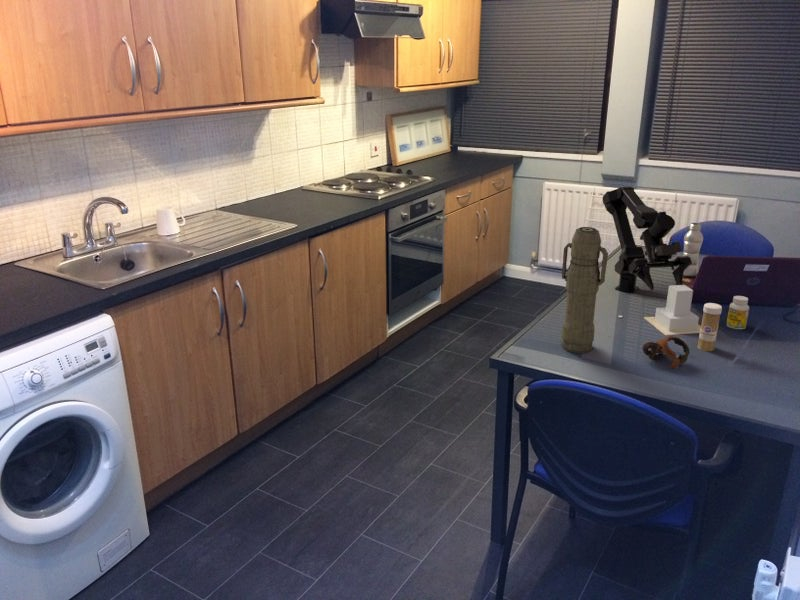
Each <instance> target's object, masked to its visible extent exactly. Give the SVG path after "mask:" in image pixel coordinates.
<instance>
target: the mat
mask: <svg viewBox="0 0 800 600" xmlns="http://www.w3.org/2000/svg"><path fill="white" fill-rule="evenodd" d="M643 319H644V320H646V321H647V322H648V323H650V324H651V325H652V326H653V327H654V328H656V329H657V330H658V331H659V332H661V333H662V334H663V335H664V336H674V335H686V334H688V335H690V334H700V329H701V324H699V323H698V327H697V329H696V330H679V331H668V330H667V329H666V328H664V327H663V326H662V325H661V324H659V323H658V322H657V321H656V320H655V316H644V317H643Z"/></svg>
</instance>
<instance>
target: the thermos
mask: <svg viewBox="0 0 800 600" xmlns="http://www.w3.org/2000/svg"><path fill="white" fill-rule="evenodd" d="M568 249H570V257H571V258H570V261H569V266H568V269H567V260H568ZM601 254H602V261H601V271H600V267H599V266H600V264H599V263H600V262H599V259H600V256H601ZM608 256H609V252H608V250H607V249H606V248H605V247H602V239H601V235H600V231H599V229H597V228H595V227H591V226H582V227H578V228H577V229H575V231H574V233H573V235H572V239H571V242H568V243H567V244H566V245H565V246H564V247H563V255H562V268H561V269H562V270H561V279H562V280H564V281H565V289H566V302H565V303H566V304H565V313H564V314H565V315H564V323H563V326H562V327H561V347H562V348H563V349H564V350H565V351H567V352H571V353H576V354H577V353H579V354H586V353H588V352H591V351H592V349H593V343H594V340H595V330H596V329H595V323H594V319H595V309H596V300H597V294H598V292H599V287H600V286H602V285H603V284H604V283H605V282H606V281H605V280H606V272H607V264H608V259H609V257H608Z"/></svg>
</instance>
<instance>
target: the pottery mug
mask: <svg viewBox="0 0 800 600" xmlns="http://www.w3.org/2000/svg"><path fill="white" fill-rule="evenodd" d="M670 341H673V342H674V344H675V345H678V346H681V347H682V350H683V353H685V354H679V355H678V356H677V353H676V352H675V351H673V350H672V349H671V347H670V346H669V344H668V342H670ZM642 351H643V354H644V355H645V356H647V357H648V359H649V360H651V361H653V360H654V358H655V357H656V355H657V354H659V355H666V356H667V357H668V358H669V359H671V360H672V362H671V363H670V365H669V368H670V369H673V370H675V369H677V368H678V367H681V366H682V365H684V364H685V363H686V362H687V361H688V356H689V355H690V352H691V351H690V348H689V346H688V344H687V343H686V341H684V340H683V339H681V338H680V337H677V336H674V335H668V336H666V337H665V338H664V337H663V338H660V339H658V340H656V341H655V342H654V341H648V342H645V343H644V344H643V345H642ZM676 356H677V357H676Z"/></svg>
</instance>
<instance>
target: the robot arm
mask: <svg viewBox="0 0 800 600" xmlns="http://www.w3.org/2000/svg"><path fill="white" fill-rule="evenodd" d="M634 188H635V187H633V186H620V187H618V188H615V189H613V190H610V191H608V190H607V191H606V192H605V193H604V194H603V196H602V203H603V205H604V208H605V211H607V212H608V214H610V215H611V216H612V219H613V222H614V227H615V230H616V234H617V238H618V242H619V245H620V248H621V251H620V253H619V256H618V261H617V262H616V263H615V264H614V272H615V273H617V274H618V275H619V280H618V285H616V287H614V289H615V290H617V291H623V292H626V293H630V294H631V293H632V294H633V293H634V292H636V291H637V290H638V289H640V286H637V279H638V278H639V279H640V280H641V281H642V282H643V283H644V284H645V285H646V286H647V287H648V288H649V289H650V290H651V291H654V289H655V286H654V282H653V278H652V275H651V272H650V271H651V270H650V269H652V268H653V269H654V268H655V269H656V268H671V270H673V271H672V272H671V273H672V275H673V278H674V281H675V282H676V285H683V280H684V275H683V273H684V270H685V269H686V268H687V267H689V266H690V265H691V264H692V261H691V258H690V257H689V256H683V255H681V256H677V257H676V258H675V259H674V260H671V259H672V258H673V256H675V255H677V253H680V252H681V251H682V244H681V242H680V241H674V242H672V243H671V244H668V243H664V240H663V238H666V236H667V235H668V234H669V233H670V232H671V231H672V230H673V228H674V227H675V225H676V221H675V219H674V218H673V217H672V216H671V215H669V214H667V212H666V211H657V210H656V209H655V208H653V207H651V206H647V205H646V204H645V202H643V200H642V199H641V198H640V196H639V195H638V194H637V192H636V191H635V189H634ZM627 209H628V210H629V211H630V212H631V214H632V215H633V218H632V222H633V223H634V225H635V227H636V229H639V230H640V229H641V230H643V229H645V230H644V231H642V232H641V234H640V236H639V240H640V241H643V245H644V248H645V251H644V249H643V247H642V246H637V245H636V241H635V238H634V235H633V231H632V228H631V224H630V220H629V217H628V213H627ZM646 256H647V258H646Z"/></svg>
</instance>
